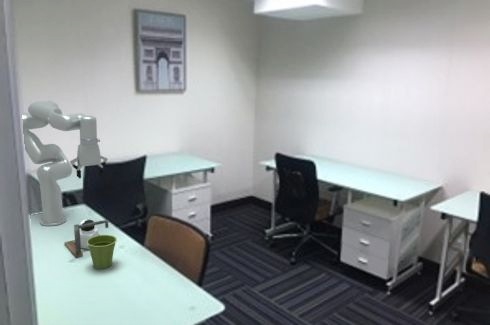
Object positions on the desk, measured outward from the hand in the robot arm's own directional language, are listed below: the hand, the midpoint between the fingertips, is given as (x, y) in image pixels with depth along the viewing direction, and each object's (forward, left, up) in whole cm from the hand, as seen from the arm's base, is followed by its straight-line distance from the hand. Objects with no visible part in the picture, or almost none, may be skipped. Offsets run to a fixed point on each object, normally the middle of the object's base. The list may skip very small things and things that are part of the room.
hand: (89, 176), depth 195 cm
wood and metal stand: (+16, -8, -29) cm, 34 cm away
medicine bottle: (+15, -8, -28) cm, 33 cm away
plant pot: (+37, -9, -29) cm, 48 cm away
